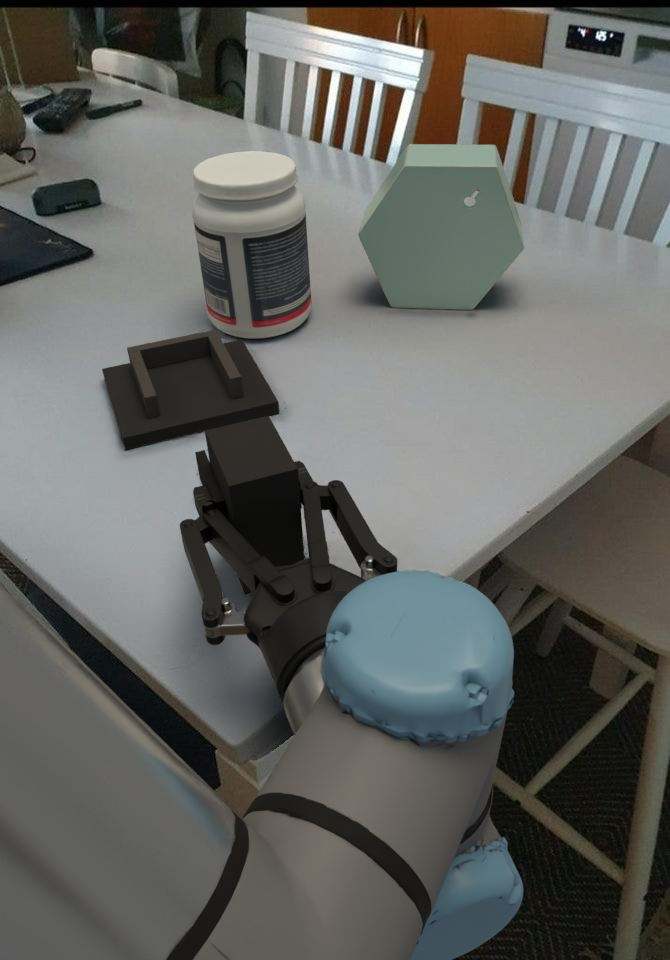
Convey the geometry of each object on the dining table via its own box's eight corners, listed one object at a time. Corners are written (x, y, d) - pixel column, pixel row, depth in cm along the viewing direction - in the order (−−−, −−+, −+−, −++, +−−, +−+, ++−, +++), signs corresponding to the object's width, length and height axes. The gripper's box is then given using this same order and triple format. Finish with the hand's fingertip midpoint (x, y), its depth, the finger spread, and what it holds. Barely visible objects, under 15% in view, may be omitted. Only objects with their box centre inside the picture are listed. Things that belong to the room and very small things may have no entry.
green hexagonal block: (447, 313, 109) (551, 185, 97) (446, 342, 103) (557, 209, 91) (341, 245, 105) (436, 102, 92) (333, 270, 99) (434, 121, 86)
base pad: (125, 450, 80) (117, 417, 77) (104, 380, 90) (96, 348, 88) (279, 413, 84) (276, 380, 81) (243, 350, 94) (239, 319, 92)
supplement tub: (318, 295, 104) (311, 147, 93) (304, 345, 94) (294, 188, 83) (221, 293, 106) (201, 147, 94) (197, 342, 96) (171, 187, 84)
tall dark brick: (244, 595, 62) (228, 486, 55) (221, 537, 67) (204, 430, 60) (306, 577, 63) (298, 468, 56) (279, 521, 68) (268, 415, 61)
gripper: (200, 763, 48) (133, 519, 65) (471, 671, 53) (342, 465, 70) (181, 687, 43) (114, 445, 60) (481, 592, 48) (340, 392, 65)
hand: (237, 456), depth 65 cm, fingers closed on tall dark brick, 5 cm apart
